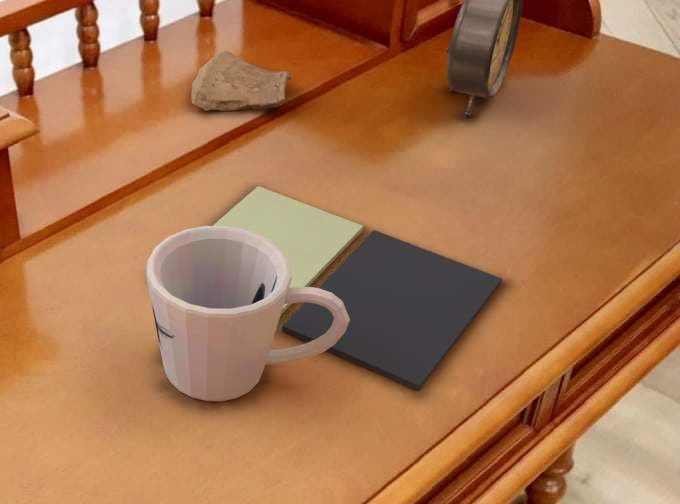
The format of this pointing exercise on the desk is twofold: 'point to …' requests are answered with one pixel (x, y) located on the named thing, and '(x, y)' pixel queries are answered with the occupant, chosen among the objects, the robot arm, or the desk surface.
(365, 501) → the desk surface
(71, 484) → the desk surface
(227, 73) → the pottery shard
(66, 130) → the desk surface
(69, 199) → the desk surface
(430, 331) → the slate mat
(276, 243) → the sage mat
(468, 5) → the alarm clock
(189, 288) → the mug
